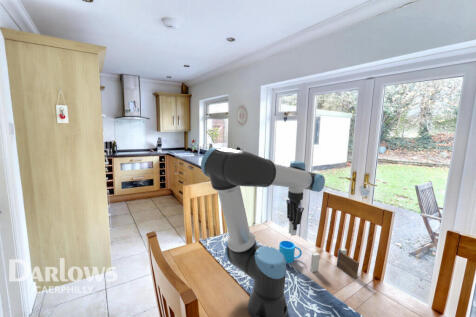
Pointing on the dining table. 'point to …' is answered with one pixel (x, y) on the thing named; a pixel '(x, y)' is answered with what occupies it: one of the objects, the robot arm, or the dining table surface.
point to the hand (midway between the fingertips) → (292, 233)
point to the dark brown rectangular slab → (348, 265)
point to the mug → (288, 251)
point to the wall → (317, 256)
